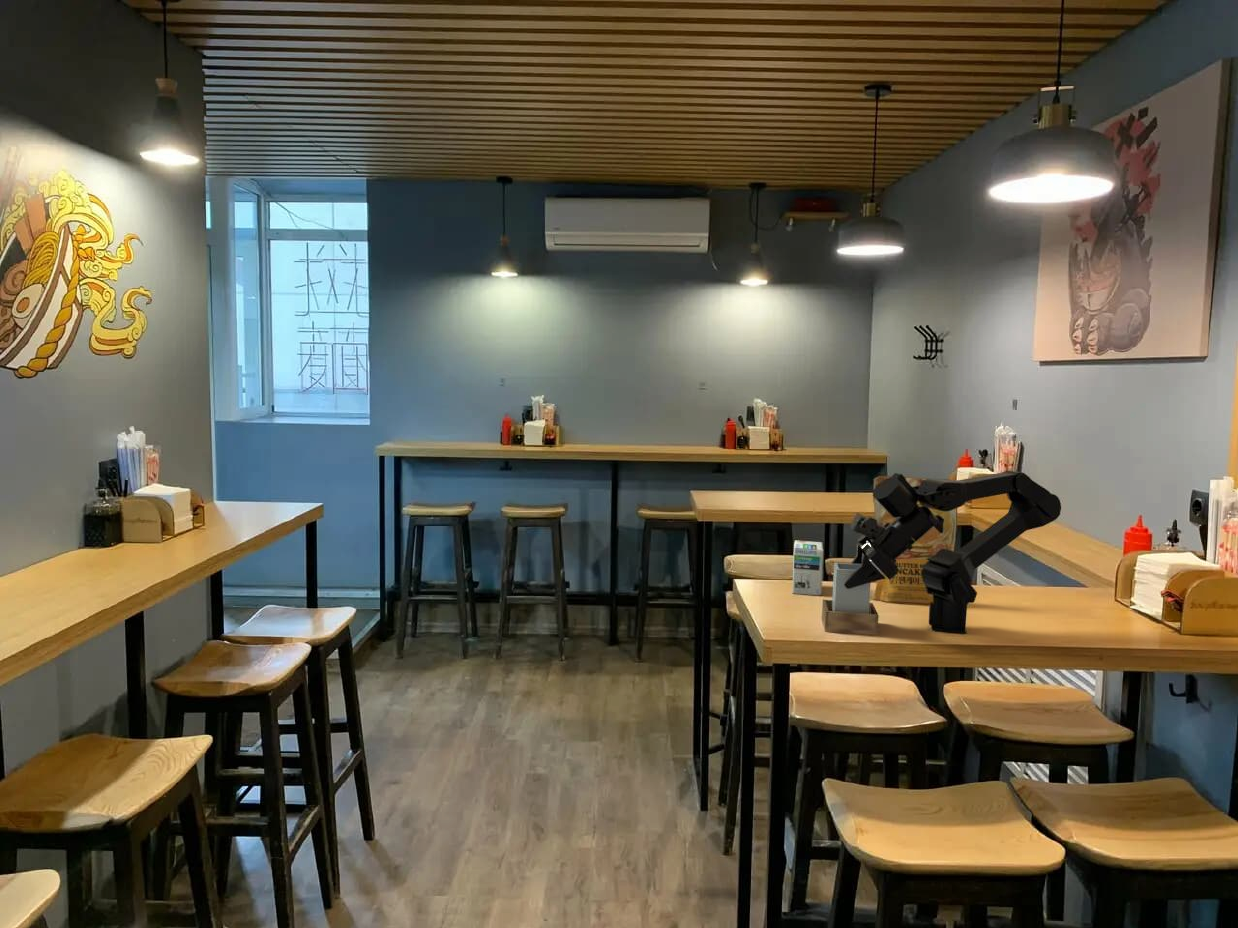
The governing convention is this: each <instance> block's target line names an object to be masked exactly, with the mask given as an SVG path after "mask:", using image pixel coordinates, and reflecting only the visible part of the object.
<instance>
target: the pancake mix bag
mask: <svg viewBox="0 0 1238 928" xmlns="http://www.w3.org/2000/svg"><path fill="white" fill-rule="evenodd" d="M892 476H893V475H879V476H877V477H875V478H873V480H872V481H873V484H872V485H873V487H872V489H873V490H872V492H873V491H874V489H875V487H876V486H877V485H878V484H879V483H881V482H882V481H884V480H885V479H887V478H890V477H892ZM903 476H904V475H903ZM904 477H905V478H906V480H907V482H908V483H909V484H910V485H911V486H912V487H914V486H918V485H920V484H921V482H922V481H923V480H926V479H934V478H927V477H917V476H907V475H906V476H904ZM944 479H945V480H950V479H948V478H944ZM872 497H873V496H872ZM872 501H873V506H874V507H873V514H874V516H873V517H874V519H876V520H877V523H878V524H880V525H882V526H883V525H884V524H885V523H886V522H888V523H889V522H890V523H892V522H893V521H894V520H895V521H896V519H897V518H898V517H892V516H891V515H890V514H889V513H888V512H887V511H886V510H885V509H884V508H883V507H882V506H881V505H880V503H879V502H878V501H877V500H876V499H875V498H874V497H873V498H872ZM917 505H918V506H919V507H923V506H922V505H921V504H920V503H919V501H918V502H917ZM929 510H930V511H931V512H932V513H933V514H934V515H940V516H941V517H942V518H943V519H944V523H943V533H940V532H939V531H938V530H936V529H935V528H934V527H933V528H932V529H930V530H929V531H928V532H927V533H926V534H925V535H923V536H922V537H921V538H920V539H919V540H917V541H915V540H914V539H913V538H912V539H913V540H914V541H915V543H914V544H913V545H912V547H913V548H912V549H911V550H910V551H909V550H908V549H907V550H906V551H905V552H903V553H902V554H901V555H900V556H899V557H897V558H896V559H895V560H896V561H897V562H896V563H895V564H896V565H897V567H898V570H897V574H896V575H895V576H894V577H893V578H892V579H890V580H889V579H888V578H887V577H886V576H885V575H884V576H885V578H886V579H881V580H878V581H876V587H875V590H874V594H873V597H872V599H873V600H875V601H881V602H884V603H891V604H902V605H903V604H904V605H922V606H930V602H933V595H932V594H928V593H927V590H926V586H925V584H924V582H923V579H922V572H923V566H924V565H925V564H926V563H927V562H928V561H929V560H927V558H930V557H932V556H934V555H935V554H936V553H937V552H938V551H939V550H941V549H947V550H950V551H954V552H955V544H956V534H957V528H958V508H956V509H953V510H951V511H940V510H936V509H931V508H929ZM896 522H897V521H896ZM897 523H898V522H897ZM898 524H899V523H898Z"/></svg>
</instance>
